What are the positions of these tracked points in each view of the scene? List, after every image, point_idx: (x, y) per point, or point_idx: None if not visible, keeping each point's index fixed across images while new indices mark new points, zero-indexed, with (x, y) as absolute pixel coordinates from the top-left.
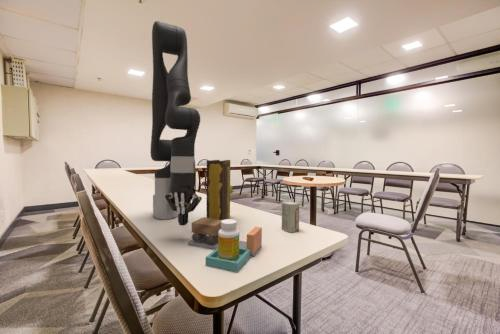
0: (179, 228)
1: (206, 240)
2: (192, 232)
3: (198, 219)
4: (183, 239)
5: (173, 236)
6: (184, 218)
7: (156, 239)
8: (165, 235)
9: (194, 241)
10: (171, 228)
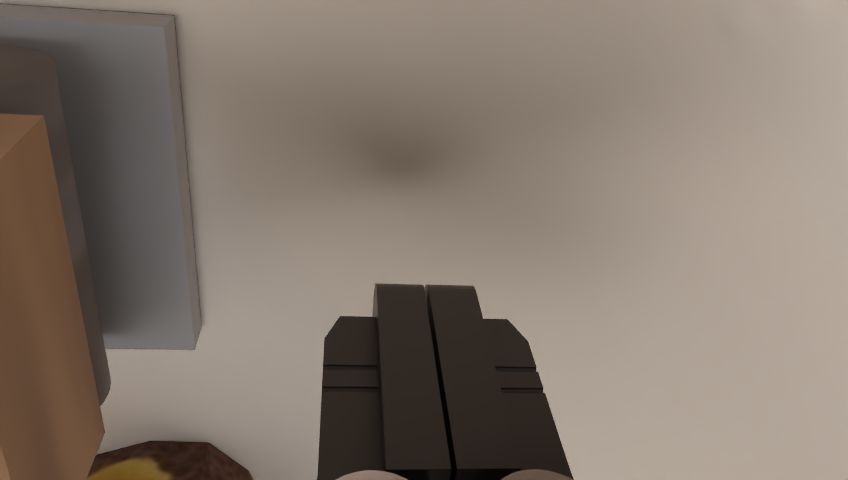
0: (654, 452)
1: None
2: (21, 117)
3: (3, 469)
4: (380, 173)
5: (590, 218)
6: (352, 403)
7: (790, 37)
8: (724, 212)
9: (76, 86)
10: (757, 423)
